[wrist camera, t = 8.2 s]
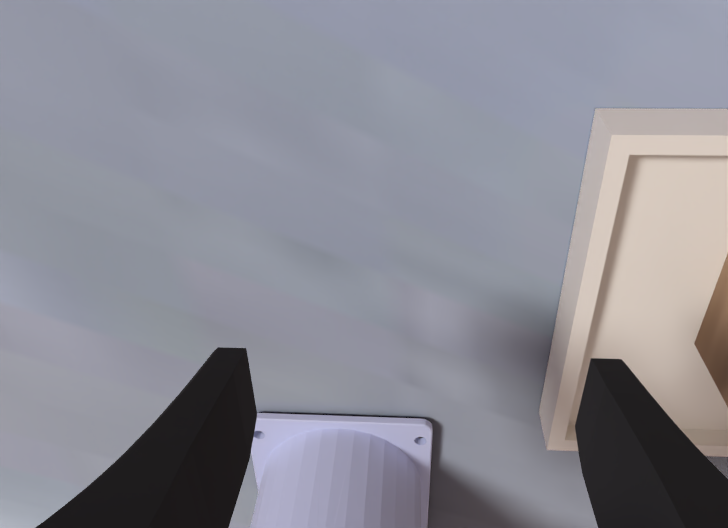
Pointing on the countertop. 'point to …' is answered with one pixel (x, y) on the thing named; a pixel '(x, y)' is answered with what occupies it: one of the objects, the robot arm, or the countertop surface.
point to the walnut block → (716, 334)
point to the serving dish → (644, 268)
